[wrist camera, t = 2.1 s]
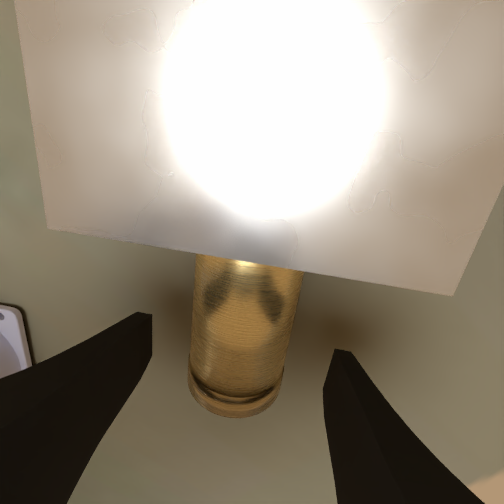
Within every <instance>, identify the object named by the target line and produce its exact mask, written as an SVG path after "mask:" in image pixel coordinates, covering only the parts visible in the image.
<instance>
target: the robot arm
mask: <svg viewBox="0 0 504 504" xmlns="http://www.w3.org/2000/svg"><path fill="white" fill-rule="evenodd" d="M151 357H152V314H146V313H141V312H136V313H134V314H132V315H130V316H129V317H127V318H125V319H123V320H121V321H120V322H118V323H116V324H114V325H113V326H111V327H109V328H107V329H106V330H104V331H102V332H100V333H98V334H97V335H95V336H93V337H91V338H89V339H87V340H85V341H84V342H82V343H80V344H78V345H76V346H74V347H72V348H70V349H68V350H66V351H64V352H62V353H60V354H58V355H56V356H54V357H51V358H49V359H47V360H45V361H43V362H40V363H38V364H35V365H33V366H32V363H31V358H30V353H29V348H28V343H27V339H26V334H25V329H24V324H23V319H22V315H21V312H20V311H19V310H18V309H16V308H14V307H9V306H4V305H0V504H67V502H68V500H69V498H70V496H71V494H72V492H73V490H74V488H75V486H76V484H77V482H78V481H79V479H80V477H81V475H82V473H83V471H84V469H85V468H86V466H87V464H88V462H89V460H90V458H91V456H92V455H93V453H94V451H95V449H96V447H97V446H98V444H99V442H100V441H101V439H102V437H103V436H104V434H105V433H106V431H107V430H108V428H109V427H110V425H111V424H112V422H113V421H114V419H115V417H116V416H117V414H118V413H119V411H120V410H121V408H122V407H123V405H124V404H125V402H126V401H127V399H128V398H129V396H130V395H131V393H132V392H133V390H134V388H135V387H136V385H137V384H138V382H139V381H140V379H141V377H142V375H143V373H144V371H145V369H146V367H147V365H148V363H149V361H150V359H151ZM323 406H324V419H325V426H326V432H327V438H328V444H329V450H330V456H331V462H332V468H333V474H334V480H335V487H336V495H337V503H338V504H485V503H483V502H482V501H481V500H480V499H479V498H478V497H477V496H476V495H475V494H474V493H472V492H471V491H470V490H469V489H468V488H467V487H466V486H465V485H464V484H463V483H462V482H461V481H460V480H459V479H458V478H457V477H456V476H455V475H454V474H452V473H451V472H450V471H449V470H448V469H447V468H446V467H445V466H444V465H443V464H442V463H441V462H440V461H439V460H438V459H437V458H436V456H435V455H434V454H433V453H432V452H431V451H430V450H429V449H428V448H427V447H426V446H425V445H424V444H423V443H422V442H421V441H420V440H419V438H418V437H417V436H416V435H415V434H414V433H413V432H412V431H411V429H410V428H409V427H408V426H407V425H406V424H405V422H404V421H403V420H402V419H401V418H400V416H399V415H398V414H397V413H396V412H395V410H394V409H393V408H392V407H391V405H390V404H389V403H388V402H387V400H386V399H385V398H384V396H383V395H382V394H381V392H380V391H379V390H378V389H377V387H376V386H375V384H374V383H373V382H372V380H371V379H370V378H369V376H368V375H367V373H366V372H365V371H364V369H363V368H362V366H361V365H360V363H359V362H358V361H357V359H356V358H355V356H354V355H353V354H352V352H350V351H344V350H339V349H335V350H334V353H333V357H332V360H331V363H330V367H329V370H328V373H327V377H326V380H325V383H324V387H323Z"/></svg>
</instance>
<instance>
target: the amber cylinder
mask: <svg viewBox="0 0 504 504" xmlns="http://www.w3.org/2000/svg"><path fill="white" fill-rule="evenodd" d="M303 275H304V271H299V270H293V269H287V268H281V267H275V266H269V265H263V264H257V263H251V262H245V261H239V260H233V259H227V258H221V257H215V256H209V255H203V254H197V253H196V266H195V283H194V299H193V316H192V333H191V349H190V354H189V362H188V386H189V389H190V392H191V394H192V395H193V397H194V398H195V400H196V401H197V402H198V403H199V404H200V405H201V406H202V407H204V408H205V409H207V410H208V411H210V412H212V413H214V414H217V415H220V416H224V417H230V418H244V417H250V416H253V415H256V414H259V413H261V412H262V411H264V410H266V409H267V408H268V407H269V406H270V405H271V404H272V403H273V402H274V401H275V399H276V398H277V395H278V393H279V390H280V385H281V381H282V376H283V371H284V361H285V357H286V352H287V348H288V343H289V339H290V334H291V329H292V325H293V320H294V316H295V311H296V307H297V302H298V297H299V293H300V288H301V284H302V279H303Z"/></svg>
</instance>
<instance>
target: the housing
mask: <svg viewBox="0 0 504 504" xmlns="http://www.w3.org/2000/svg"><path fill="white" fill-rule="evenodd" d="M14 2H15V9H16V16H17V23H18V30H19V36H20V43H21V50H22V57H23V64H24V71H25V77H26V84H27V91H28V98H29V105H30V112H31V118H32V125H33V132H34V139H35V146H36V153H37V159H38V166H39V173H40V180H41V187H42V194H43V200H44V207H45V214H46V221H47V228H48V229H54V230H60V231H66V232H72V233H78V234H84V235H90V236H96V237H102V238H108V239H114V240H120V241H126V242H131V243H137V244H143V245H149V246H155V247H161V248H167V249H173V250H179V251H185V252H191V253H197V254H203V255H209V256H215V257H221V258H227V259H233V260H239V261H245V262H251V263H257V264H263V265H269V266H275V267H281V268H287V269H293V270H299V271H305V272H311V273H317V274H323V275H329V276H335V277H341V278H347V279H353V280H359V281H365V282H371V283H377V284H383V285H389V286H394V287H400V288H406V289H412V290H418V291H424V292H430V293H436V294H442V295H448V296H453V294H454V292H455V290H456V288H457V286H458V283H459V281H460V279H461V277H462V275H463V272H464V270H465V268H466V266H467V263H468V261H469V259H470V257H471V255H472V252H473V250H474V248H475V246H476V244H477V241H478V239H479V237H480V235H481V233H482V230H483V228H484V226H485V224H486V221H487V219H488V217H489V215H490V213H491V210H492V208H493V206H494V204H495V202H496V199H497V197H498V195H499V193H500V191H501V188H502V186H503V184H504V0H14Z"/></svg>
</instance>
